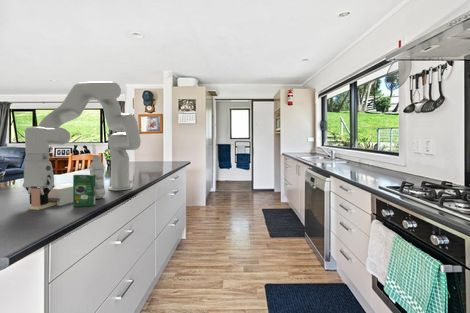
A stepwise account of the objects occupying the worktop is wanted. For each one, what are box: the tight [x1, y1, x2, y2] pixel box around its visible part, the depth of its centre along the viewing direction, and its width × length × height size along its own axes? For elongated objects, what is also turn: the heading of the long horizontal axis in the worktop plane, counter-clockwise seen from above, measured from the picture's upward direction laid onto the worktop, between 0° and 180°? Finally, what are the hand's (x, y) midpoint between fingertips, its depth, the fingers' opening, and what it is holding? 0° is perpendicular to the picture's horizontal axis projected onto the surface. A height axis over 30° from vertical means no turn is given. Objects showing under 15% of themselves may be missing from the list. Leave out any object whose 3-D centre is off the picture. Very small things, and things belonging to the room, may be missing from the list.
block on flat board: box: [28, 187, 57, 211], centre depth 116 cm, size 19×4×8 cm, turn 169°
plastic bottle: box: [88, 155, 106, 200], centre depth 128 cm, size 6×7×20 cm
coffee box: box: [72, 174, 96, 208], centre depth 113 cm, size 8×3×13 cm, turn 102°
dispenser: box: [48, 182, 73, 207], centre depth 121 cm, size 15×10×7 cm
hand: (39, 203), depth 109 cm, fingers closed on block on flat board, 4 cm apart
